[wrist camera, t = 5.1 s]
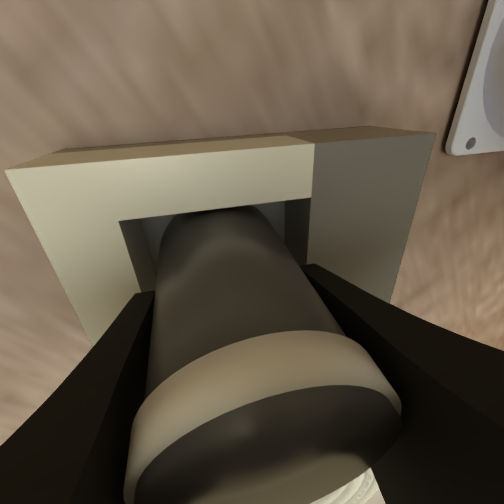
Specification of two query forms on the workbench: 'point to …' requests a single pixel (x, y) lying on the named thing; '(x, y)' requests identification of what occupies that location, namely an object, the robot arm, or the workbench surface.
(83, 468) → the robot arm
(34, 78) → the workbench surface
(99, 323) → the hollow square frame
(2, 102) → the workbench surface
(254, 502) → the knob
